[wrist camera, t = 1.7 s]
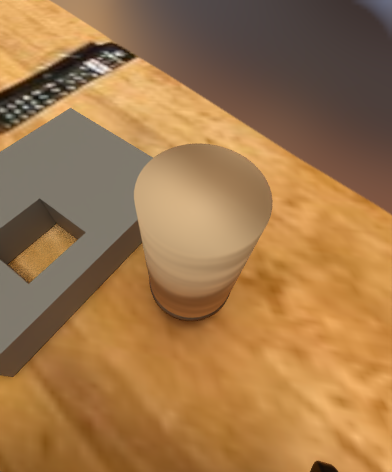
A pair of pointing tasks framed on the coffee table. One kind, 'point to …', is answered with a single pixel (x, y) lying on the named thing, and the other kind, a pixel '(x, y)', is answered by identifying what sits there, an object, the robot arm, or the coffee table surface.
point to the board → (62, 225)
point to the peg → (199, 225)
